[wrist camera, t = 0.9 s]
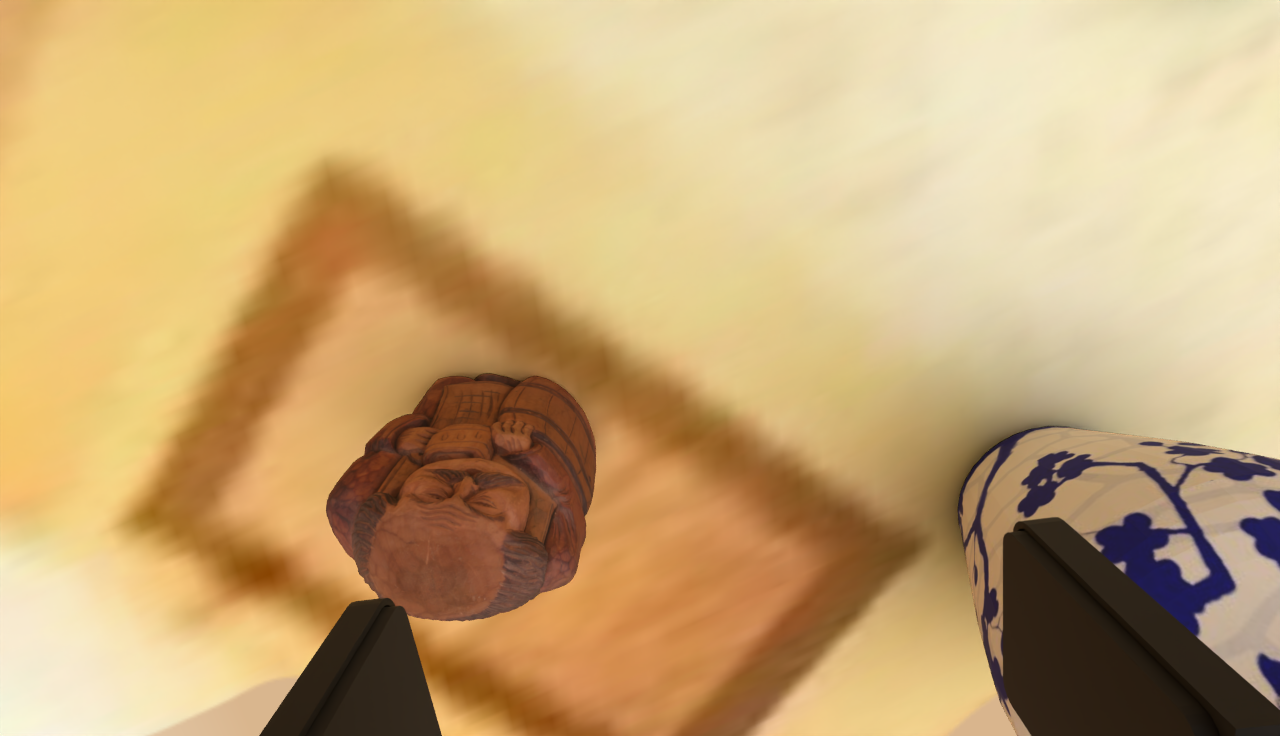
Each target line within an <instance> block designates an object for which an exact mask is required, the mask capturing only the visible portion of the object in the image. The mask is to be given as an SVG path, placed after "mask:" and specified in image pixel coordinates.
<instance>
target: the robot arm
mask: <svg viewBox="0 0 1280 736" xmlns="http://www.w3.org/2000/svg"><path fill="white" fill-rule="evenodd" d="M1003 683H1004V688H1005V691H1006V694H1007V697H1008V699H1009V702H1010V704H1011V705H1012V707H1013V709H1014V710H1015V712H1016V713H1017V715H1018V716H1019V718H1020V719H1021V721H1022V722H1023V724H1024V725H1025V727H1026V728H1027V730H1028V732H1029V733H1030V735H1031V736H1280V709H1278V708H1277V707H1276V706H1275V705H1274V704H1273V703H1272V702H1270V701H1269V700H1268V699H1267V698H1266V697H1265V696H1264V695H1262V694H1261V693H1260V692H1259V691H1258V690H1257V689H1256V688H1254V687H1253V686H1252V685H1251V684H1250V683H1249V682H1248V681H1246V680H1245V679H1244V678H1243V677H1242V676H1241V675H1240V674H1238V673H1237V672H1236V671H1235V670H1234V669H1233V668H1232V667H1230V666H1229V665H1228V664H1227V663H1226V662H1225V661H1224V660H1223V659H1221V658H1220V657H1219V656H1218V655H1217V654H1216V653H1215V652H1213V651H1212V650H1211V649H1210V648H1209V647H1208V646H1207V645H1205V644H1204V643H1203V642H1202V641H1201V640H1200V639H1199V638H1197V637H1196V636H1195V635H1194V634H1193V633H1192V632H1191V631H1189V630H1188V629H1187V628H1186V627H1185V626H1184V625H1183V624H1181V623H1180V622H1179V621H1178V620H1177V619H1176V618H1175V617H1174V616H1172V615H1171V614H1170V613H1169V612H1168V611H1167V610H1166V609H1164V608H1163V607H1162V606H1161V605H1160V604H1159V603H1158V602H1156V601H1155V600H1154V599H1153V598H1152V597H1151V596H1150V595H1148V594H1147V593H1146V592H1145V591H1144V590H1143V589H1142V588H1140V587H1139V586H1138V585H1137V584H1136V583H1135V582H1134V581H1132V580H1131V579H1130V578H1129V577H1128V576H1127V575H1126V574H1124V573H1123V572H1122V571H1121V570H1120V569H1119V568H1118V567H1117V566H1115V565H1114V564H1113V563H1112V562H1111V561H1110V560H1109V559H1107V558H1106V557H1105V556H1104V555H1103V554H1102V553H1101V552H1099V551H1098V550H1097V549H1096V548H1095V547H1094V546H1093V545H1091V544H1090V543H1089V542H1088V541H1087V540H1086V539H1085V538H1083V537H1082V536H1081V535H1080V534H1079V533H1078V532H1077V531H1075V530H1074V529H1073V528H1072V527H1071V526H1070V525H1069V524H1068V523H1066V522H1065V521H1064V520H1063V519H1061V518H1059V517H1050V518H1041V519H1033V520H1025V521H1018V522H1017V523H1016V524H1015V526H1014V528H1013V532H1008V533H1006V534H1005V535H1004V537H1003ZM259 736H442V735H441V731H440V728H439V724H438V721H437V717H436V714H435V710H434V707H433V703H432V700H431V696H430V693H429V689H428V686H427V682H426V679H425V675H424V672H423V668H422V665H421V662H420V658H419V655H418V651H417V648H416V644H415V641H414V637H413V634H412V630H411V627H410V623H409V620H408V616H407V613H406V611H405V609H404V608H403V606H395V604H394V602H393V601H392V600H391V599H390V598H380V599H372V600H364V601H356V602H352V603H351V604H350V605H349V606H348V607H347V608H346V610H345V611H344V613H343V614H342V616H341V617H340V619H339V620H338V621H337V623H336V624H335V626H334V627H333V629H332V630H331V632H330V633H329V635H328V636H327V637H326V639H325V640H324V642H323V643H322V645H321V646H320V648H319V649H318V651H317V652H316V654H315V655H314V656H313V658H312V659H311V661H310V662H309V664H308V665H307V667H306V668H305V670H304V671H303V673H302V674H301V675H300V677H299V678H298V680H297V682H296V683H295V684H294V686H293V687H292V689H291V690H290V692H289V693H288V694H287V696H286V697H285V699H284V700H283V702H282V703H281V705H280V706H279V708H278V709H277V711H276V712H275V713H274V715H273V716H272V718H271V719H270V721H269V722H268V724H267V725H266V727H265V728H264V730H263V731H262V733H261V734H260V735H259Z"/></svg>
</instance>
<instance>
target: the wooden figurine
mask: <svg viewBox="0 0 1280 736" xmlns="http://www.w3.org/2000/svg"><path fill="white" fill-rule="evenodd" d="M595 473H596V447H595V440H594V436H593V433H592V430H591V427H590V425H589V422H588V420H587V417H586V415H585V413H584V411H583V410H582V408H581V407H580V406H579V405H578V404H577V402H576V401H575V400H574V398H573V397H572V396H571V395H570V394H569V393H568V392H567V391H565V390H564V389H563V388H562V387H561V386H559V385H558V384H556V383H554V382H552V381H550V380H548V379H546V378H542V377H538V376H533V377H529V378H527V379H526V380H524V381H522V382H520V381H516V380H514V379H511V378H508V377H504V376H499V375H495V374H482V375H479V376H478V377H477V378H476V379H475V380H473V379H471V378H468V377H460V376H450V377H445V378H442V379H438V380H437V381H436V382H435V383H434V384H433V385H432V387H431V388H430V389H429V390H428V391H427V393H426V394H425V396H424V397H423V399H422V400H421V401H420V402H419V404H418V405H417V407H416V408H415V410H414V412H413V413H412V414H407V415H404V416H401V417H399V418H396V419H394V420H392V421H390V422H389V423H387V424H386V425H385V426H384V427H383V428H382V429H381V430H380V431H379V432H378V433H377V434H376V435H374V437H373V438H372V439H370V440H369V442H368V443H367V444H366V446H365V454H364V456H362V457H360V458H359V459H357V460H356V461H355V462H353V464H352V465H351V466H350V467H349V469H348V470H347V471H346V472H345V473H344V475H343V476H342V477H341V478H340V480H339V481H338V482H337V484H336V485H335V487H334V488H333V490H332V491H331V493H330V494H329V498H328V500H327V506H326V513H327V517H328V519H329V523H330V525H331V528H332V531H333V533H334V535H335V536H336V538H337V539H338V541H339V542H340V544H341V545H342V547H343V548H344V550H345V551H346V553H347V554H348V555H349V556H350V557H351V558H353V559H354V560H355V562H356V565H357V567H358V572H359V574H360V575H361V576H362V577H363V578H364V580H365V583H367V584H369V586H370V588H371V589H372V590H373V591H375V592H376V593H377V595H378V597H379V599H380V598H390V599H391V600H392V601H393V602H394V604H395V606H403V608H404V609H405V611H406V613H407V614H408V615H409V616H414V617H417V618H422V619H431V620H440V621H453V620H458V621H465V620H469V621H470V620H475V619H484V618H488V617H491V616H494V615H497V614H499V613H505V612H509V611H511V610H514V609H517V608H518V607H520V606H522V605H524V604H525V603H527V602H528V601H529V600H532V599H534V598H535V597H536V596H537V595H538V594H540V593H542V592H547V591H551V590H553V589H556V588H559V587H561V586H564V585H566V584H567V583H569V582H570V581H571V580H572V579H573V577H574V575H575V573H576V571H577V567H578V562H579V557H580V551H581V548H582V546H583V544H584V541H585V538H586V522H585V515H586V514H587V512H588V510H589V507H590V505H591V501H592V497H593V491H594V482H595Z"/></svg>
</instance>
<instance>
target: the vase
mask: <svg viewBox="0 0 1280 736" xmlns="http://www.w3.org/2000/svg"><path fill="white" fill-rule="evenodd" d="M1050 517H1059V518H1061V519H1063V520H1064V521H1065V522H1066V523H1068V524H1069V525H1070V526H1071V527H1072V528H1073V529H1074V530H1075V531H1077V532H1078V533H1079V534H1080V535H1081V536H1082V537H1083V538H1085V539H1086V540H1087V541H1088V542H1089V543H1090V544H1091V545H1093V546H1094V547H1095V548H1096V549H1097V550H1098V551H1099V552H1101V553H1102V554H1103V555H1104V556H1105V557H1106V558H1107V559H1109V560H1110V561H1111V562H1112V563H1113V564H1114V565H1115V566H1117V567H1118V568H1119V569H1120V570H1121V571H1122V572H1123V573H1124V574H1126V575H1127V576H1128V577H1129V578H1130V579H1131V580H1132V581H1134V582H1135V583H1136V584H1137V585H1138V586H1139V587H1140V588H1142V589H1143V590H1144V591H1145V592H1146V593H1147V594H1148V595H1150V596H1151V597H1152V598H1153V599H1154V600H1155V601H1156V602H1158V603H1159V604H1160V605H1161V606H1162V607H1163V608H1164V609H1166V610H1167V611H1168V612H1169V613H1170V614H1171V615H1172V616H1174V617H1175V618H1176V619H1177V620H1178V621H1179V622H1180V623H1181V624H1183V625H1184V626H1185V627H1186V628H1187V629H1188V630H1189V631H1191V632H1192V633H1193V634H1194V635H1195V636H1196V637H1197V638H1199V639H1200V640H1201V641H1202V642H1203V643H1204V644H1205V645H1207V646H1208V647H1209V648H1210V649H1211V650H1212V651H1213V652H1215V653H1216V654H1217V655H1218V656H1219V657H1220V658H1221V659H1223V660H1224V661H1225V662H1226V663H1227V664H1228V665H1229V666H1230V667H1232V668H1233V669H1234V670H1235V671H1236V672H1237V673H1238V674H1240V675H1241V676H1242V677H1243V678H1244V679H1245V680H1246V681H1248V682H1249V683H1250V684H1251V685H1252V686H1253V687H1254V688H1256V689H1257V690H1258V691H1259V692H1260V693H1261V694H1262V695H1264V696H1265V697H1266V698H1267V699H1268V700H1269V701H1270V702H1272V703H1273V704H1274V705H1275V706H1276V707H1277V708H1278V709H1280V460H1279V459H1274V458H1270V457H1265V456H1260V455H1255V454H1249V453H1244V452H1238V451H1233V450H1227V449H1222V448H1216V447H1211V446H1206V445H1200V444H1195V443H1189V442H1181V441H1173V440H1165V439H1158V438H1150V437H1142V436H1134V435H1125V434H1117V433H1108V432H1099V431H1090V430H1082V429H1074V428H1070V427H1054V426H1047V427H1041V428H1035V429H1030V430H1027V431H1024V432H1021V433H1018V434H1015V435H1013V436H1011V437H1009V438H1007V439H1005V440H1004V441H1002V442H1000V443H998V444H997V445H996V446H994V447H993V448H992V449H991V450H989V451H988V452H987V453H985V454H984V456H983V457H982V458H981V459H980V460H979V461H978V462H977V463H976V464H975V465H974V467H973V468H972V470H971V472H970V473H969V475H968V476H967V478H966V480H965V482H964V485H963V487H962V490H961V493H960V497H959V503H958V521H959V526H960V530H961V534H962V540H963V545H964V551H965V556H966V562H967V568H968V574H969V579H970V584H971V589H972V595H973V600H974V605H975V610H976V616H977V621H978V625H979V629H980V633H981V636H982V640H983V644H984V648H985V652H986V655H987V659H988V663H989V667H990V670H991V674H992V678H993V681H994V684H995V687H996V690H997V694H998V697H999V700H1000V703H1001V705H1002V707H1003V709H1004V711H1005V713H1006V715H1007V717H1008V719H1009V721H1010V722H1011V724H1012V726H1013V728H1014V730H1015V732H1016V734H1017V736H1031V735H1030V733H1029V732H1028V730H1027V728H1026V727H1025V725H1024V724H1023V722H1022V721H1021V719H1020V718H1019V716H1018V715H1017V713H1016V712H1015V710H1014V709H1013V707H1012V705H1011V704H1010V702H1009V699H1008V697H1007V694H1006V691H1005V688H1004V683H1003V537H1004V535H1005V534H1006V533H1008V532H1013V528H1014V526H1015V524H1016V523H1017V522H1018V521H1025V520H1033V519H1041V518H1050Z"/></svg>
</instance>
